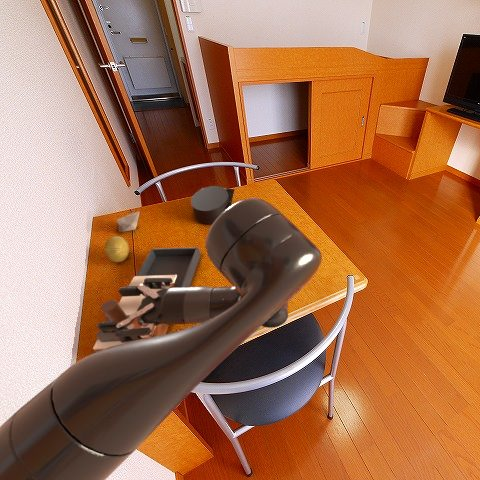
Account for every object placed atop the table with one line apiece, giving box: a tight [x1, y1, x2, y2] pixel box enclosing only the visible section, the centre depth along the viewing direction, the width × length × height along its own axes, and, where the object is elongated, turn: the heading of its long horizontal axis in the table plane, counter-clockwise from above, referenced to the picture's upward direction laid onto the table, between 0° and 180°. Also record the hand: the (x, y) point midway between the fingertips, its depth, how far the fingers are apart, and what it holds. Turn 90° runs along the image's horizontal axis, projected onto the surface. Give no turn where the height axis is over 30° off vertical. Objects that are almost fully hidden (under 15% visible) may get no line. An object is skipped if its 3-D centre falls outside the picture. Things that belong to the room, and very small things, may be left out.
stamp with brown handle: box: [95, 299, 148, 342], centre depth 59 cm, size 5×9×9 cm, turn 95°
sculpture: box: [104, 235, 130, 263], centre depth 84 cm, size 8×4×8 cm, turn 8°
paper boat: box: [116, 209, 140, 233], centre depth 97 cm, size 12×6×9 cm
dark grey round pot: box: [190, 185, 236, 226], centre depth 106 cm, size 14×18×8 cm
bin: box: [135, 246, 202, 288], centre depth 81 cm, size 17×14×3 cm
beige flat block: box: [92, 275, 177, 352], centre depth 68 cm, size 20×11×6 cm, turn 5°
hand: (110, 308), depth 56 cm, fingers open, 8 cm apart
